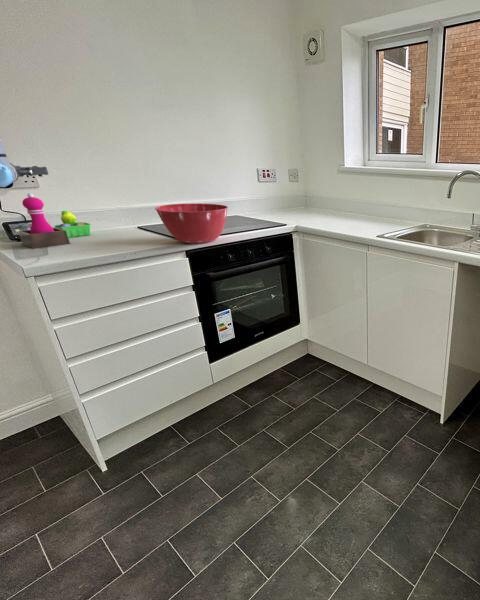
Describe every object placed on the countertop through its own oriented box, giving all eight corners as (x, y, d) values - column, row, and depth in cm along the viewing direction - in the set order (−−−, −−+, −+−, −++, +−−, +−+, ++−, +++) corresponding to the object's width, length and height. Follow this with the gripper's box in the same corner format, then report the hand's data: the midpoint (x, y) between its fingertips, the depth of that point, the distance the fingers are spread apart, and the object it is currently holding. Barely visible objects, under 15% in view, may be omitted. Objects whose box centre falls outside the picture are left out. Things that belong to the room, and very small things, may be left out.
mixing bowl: (245, 239, 168) (241, 206, 162) (188, 250, 144) (181, 212, 139) (207, 232, 180) (202, 201, 174) (148, 242, 156) (140, 206, 150)
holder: (33, 248, 140) (28, 234, 138) (22, 244, 145) (17, 231, 143) (70, 243, 149) (65, 230, 147) (58, 240, 155) (54, 227, 153)
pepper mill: (57, 243, 147) (41, 193, 140) (33, 245, 142) (15, 194, 135) (58, 240, 152) (42, 192, 145) (35, 242, 147) (17, 192, 140)
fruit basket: (63, 238, 157) (55, 213, 153) (56, 236, 162) (47, 211, 158) (94, 234, 167) (87, 210, 162) (86, 232, 171) (79, 209, 167)
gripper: (-57, 185, 103) (-40, 180, 118) (58, 184, 118) (60, 180, 133) (-69, 157, 100) (-50, 157, 115) (50, 160, 115) (54, 159, 130)
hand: (9, 169), depth 124 cm, fingers open, 13 cm apart
